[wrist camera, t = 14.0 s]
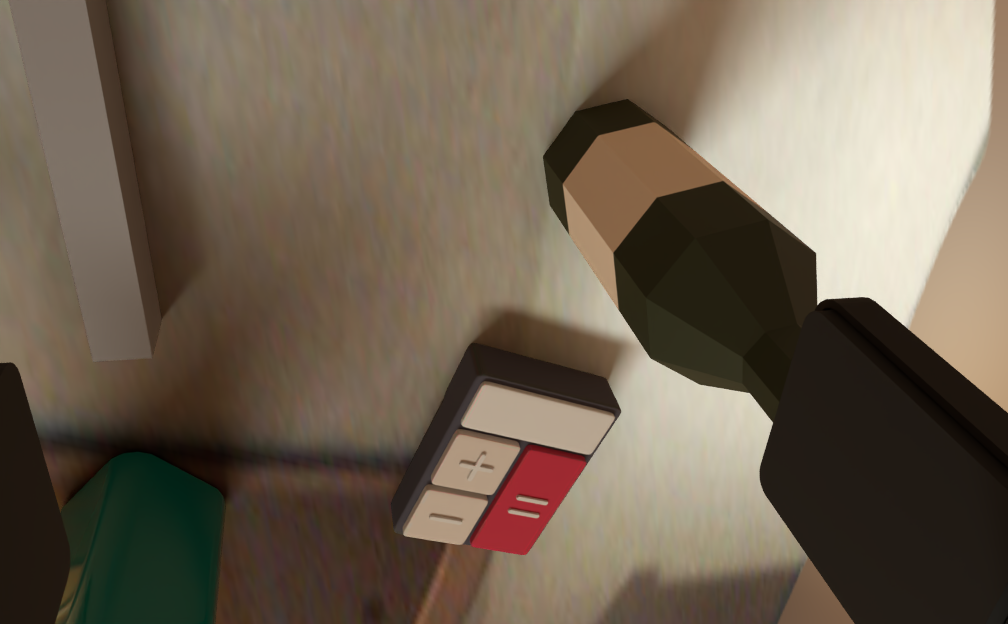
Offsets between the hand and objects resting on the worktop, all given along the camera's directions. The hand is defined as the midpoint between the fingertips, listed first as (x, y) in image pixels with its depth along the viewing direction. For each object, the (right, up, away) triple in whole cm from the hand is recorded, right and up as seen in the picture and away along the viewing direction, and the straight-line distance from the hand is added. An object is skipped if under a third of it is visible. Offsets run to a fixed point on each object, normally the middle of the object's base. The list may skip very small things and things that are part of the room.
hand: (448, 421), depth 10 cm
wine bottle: (+7, +10, +39) cm, 41 cm away
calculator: (0, -8, +49) cm, 50 cm away
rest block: (-20, +9, +33) cm, 40 cm away
